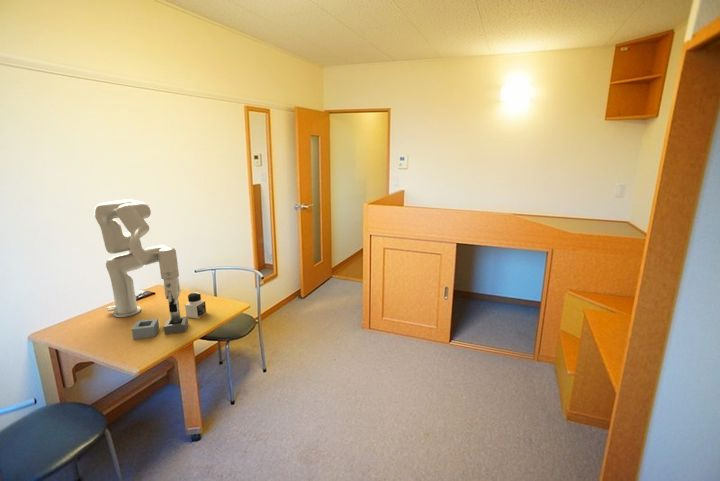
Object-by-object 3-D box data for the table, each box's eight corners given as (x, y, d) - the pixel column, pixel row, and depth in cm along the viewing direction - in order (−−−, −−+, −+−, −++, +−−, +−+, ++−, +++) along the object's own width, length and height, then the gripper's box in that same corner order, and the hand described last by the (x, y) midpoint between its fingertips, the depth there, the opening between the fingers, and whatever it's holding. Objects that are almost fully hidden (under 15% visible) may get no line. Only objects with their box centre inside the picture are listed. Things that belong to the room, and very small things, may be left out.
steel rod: (170, 322, 174) (167, 299, 171) (172, 319, 178) (169, 296, 175) (179, 321, 175) (176, 298, 172) (181, 318, 179) (178, 295, 176)
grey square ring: (164, 334, 172) (163, 326, 171) (168, 325, 181) (167, 318, 180) (185, 331, 175) (184, 324, 174) (188, 323, 183) (187, 316, 182)
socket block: (133, 339, 168) (131, 329, 167) (138, 330, 176) (137, 320, 175) (154, 336, 170) (153, 326, 169) (159, 327, 179) (158, 318, 177)
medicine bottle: (198, 318, 189) (195, 297, 186) (186, 317, 190) (183, 295, 187) (206, 312, 195) (204, 291, 192) (194, 311, 197) (192, 290, 194)
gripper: (175, 279, 164) (179, 316, 168) (181, 267, 180) (186, 302, 184) (156, 280, 162) (162, 318, 166) (165, 269, 178) (169, 303, 182)
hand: (174, 309), depth 175 cm, fingers closed on steel rod, 4 cm apart
